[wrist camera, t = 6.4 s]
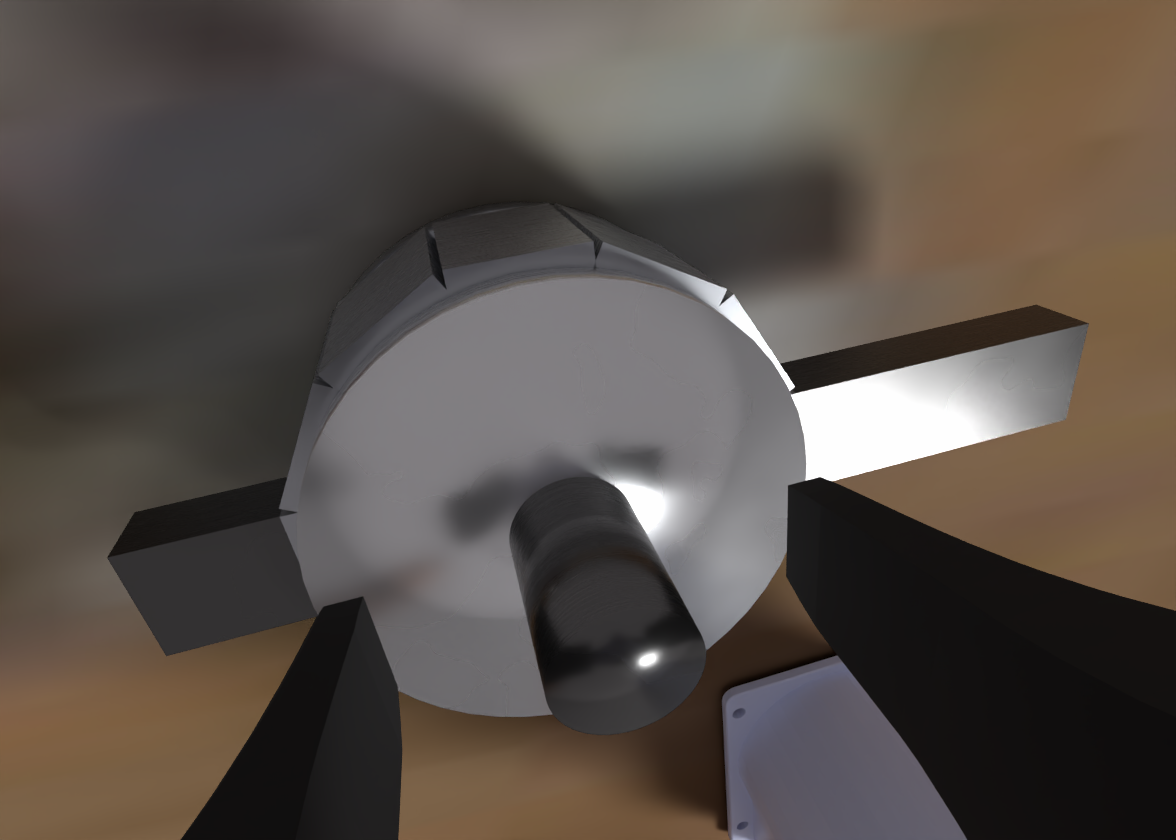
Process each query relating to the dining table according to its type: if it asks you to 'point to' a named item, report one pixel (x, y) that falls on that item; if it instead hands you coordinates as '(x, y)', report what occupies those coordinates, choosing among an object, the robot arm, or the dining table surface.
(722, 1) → the dining table surface
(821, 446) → the pot
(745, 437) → the lid
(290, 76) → the dining table surface
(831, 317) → the dining table surface
